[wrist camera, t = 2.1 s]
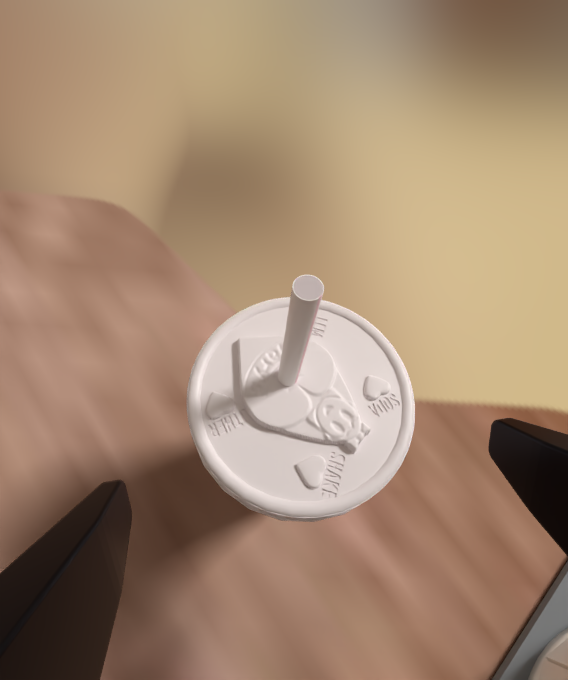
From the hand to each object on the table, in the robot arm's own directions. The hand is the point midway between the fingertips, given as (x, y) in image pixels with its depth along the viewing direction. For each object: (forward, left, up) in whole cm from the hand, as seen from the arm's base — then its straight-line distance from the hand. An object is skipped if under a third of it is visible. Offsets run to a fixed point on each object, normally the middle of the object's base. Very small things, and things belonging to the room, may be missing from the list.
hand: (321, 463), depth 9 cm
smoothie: (+2, 0, -10) cm, 11 cm away
